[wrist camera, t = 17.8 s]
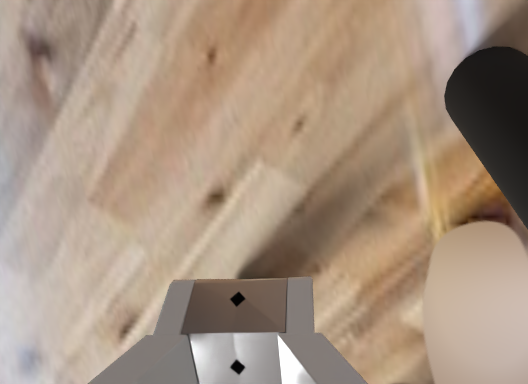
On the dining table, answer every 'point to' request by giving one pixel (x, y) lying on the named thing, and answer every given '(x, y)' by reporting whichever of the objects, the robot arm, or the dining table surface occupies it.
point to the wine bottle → (495, 117)
